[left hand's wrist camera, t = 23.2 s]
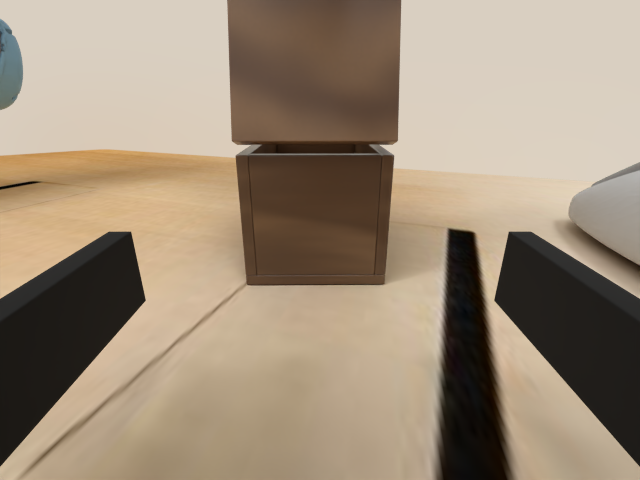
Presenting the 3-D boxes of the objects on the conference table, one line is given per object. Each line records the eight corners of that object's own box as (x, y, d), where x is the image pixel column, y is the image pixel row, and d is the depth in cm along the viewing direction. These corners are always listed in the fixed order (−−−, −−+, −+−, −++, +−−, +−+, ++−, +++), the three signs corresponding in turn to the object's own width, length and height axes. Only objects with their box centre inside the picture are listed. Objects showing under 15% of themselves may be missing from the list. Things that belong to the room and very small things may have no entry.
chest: (273, 213, 40) (269, 132, 36) (358, 213, 40) (361, 132, 36) (246, 285, 24) (235, 155, 21) (384, 284, 24) (394, 154, 21)
